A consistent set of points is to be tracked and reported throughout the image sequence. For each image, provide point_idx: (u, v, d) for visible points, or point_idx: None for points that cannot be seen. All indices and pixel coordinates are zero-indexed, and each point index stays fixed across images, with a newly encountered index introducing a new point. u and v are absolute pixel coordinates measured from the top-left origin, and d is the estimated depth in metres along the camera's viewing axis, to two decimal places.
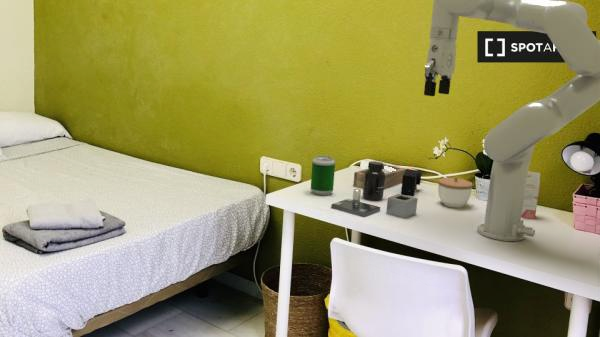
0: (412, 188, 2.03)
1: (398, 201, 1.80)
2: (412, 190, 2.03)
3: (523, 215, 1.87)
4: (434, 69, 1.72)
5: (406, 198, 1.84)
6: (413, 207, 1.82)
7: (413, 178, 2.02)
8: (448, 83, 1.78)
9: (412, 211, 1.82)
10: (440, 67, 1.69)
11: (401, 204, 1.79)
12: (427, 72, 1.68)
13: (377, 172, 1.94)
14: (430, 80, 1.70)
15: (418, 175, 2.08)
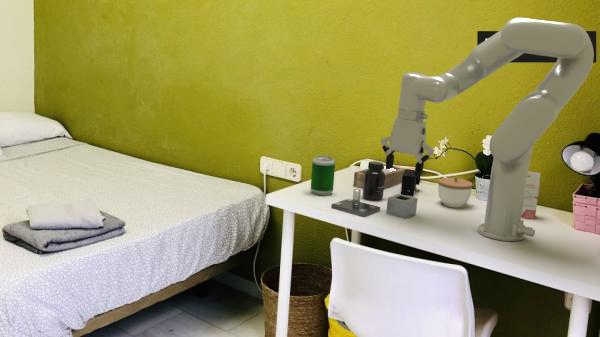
0: (412, 188, 2.03)
1: (398, 201, 1.80)
2: (412, 190, 2.03)
3: (523, 215, 1.87)
4: None
5: (406, 198, 1.84)
6: (413, 207, 1.82)
7: (413, 178, 2.02)
8: (393, 157, 1.84)
9: (412, 211, 1.82)
10: None
11: (401, 204, 1.79)
12: (430, 155, 1.75)
13: (377, 172, 1.94)
14: (424, 161, 1.77)
15: None
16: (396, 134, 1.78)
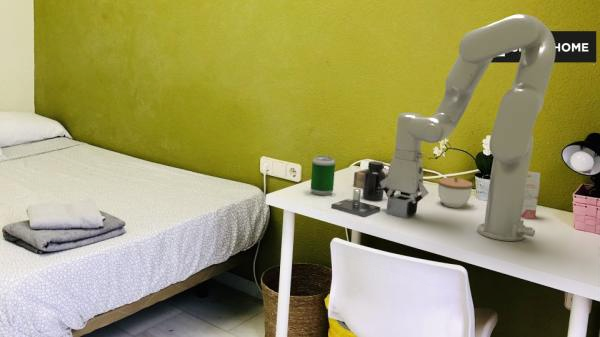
0: None
1: (398, 201, 1.80)
2: None
3: (523, 215, 1.87)
4: None
5: (406, 198, 1.84)
6: None
7: None
8: None
9: None
10: None
11: (401, 204, 1.79)
12: (424, 196, 1.78)
13: (377, 172, 1.94)
14: (418, 201, 1.80)
15: None
16: (393, 173, 1.80)
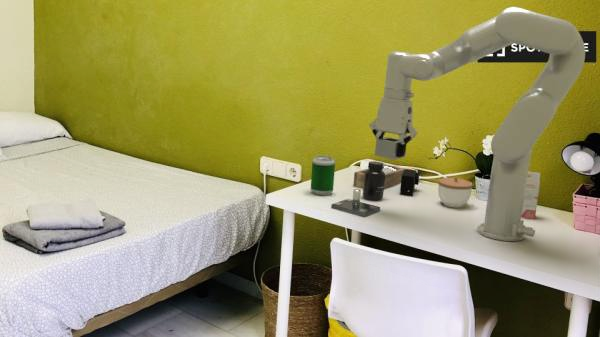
0: (411, 188, 2.03)
1: (387, 142, 1.76)
2: (411, 190, 2.03)
3: (523, 215, 1.87)
4: None
5: (395, 140, 1.80)
6: None
7: (412, 178, 2.02)
8: None
9: None
10: None
11: (390, 145, 1.76)
12: (413, 137, 1.74)
13: (377, 172, 1.94)
14: None
15: (416, 175, 2.08)
16: (382, 114, 1.77)
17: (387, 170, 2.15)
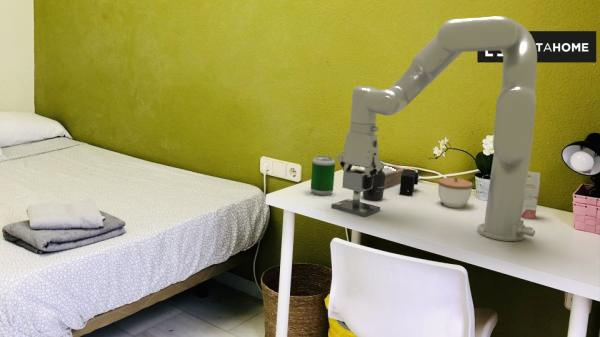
0: (410, 188, 2.03)
1: (353, 175, 1.80)
2: (410, 190, 2.03)
3: (523, 215, 1.87)
4: None
5: (362, 172, 1.84)
6: None
7: (411, 178, 2.02)
8: None
9: None
10: None
11: (356, 178, 1.79)
12: (379, 169, 1.78)
13: (377, 172, 1.94)
14: (373, 175, 1.80)
15: (416, 175, 2.08)
16: (349, 147, 1.80)
17: (386, 170, 2.16)
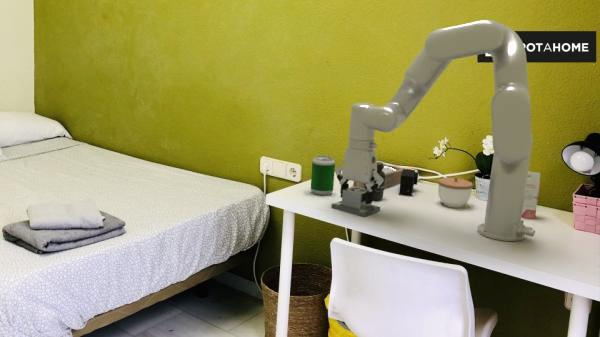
0: (410, 188, 2.03)
1: (352, 193, 1.81)
2: (410, 190, 2.03)
3: (523, 215, 1.87)
4: None
5: (361, 190, 1.85)
6: None
7: (411, 178, 2.02)
8: (348, 186, 1.87)
9: None
10: None
11: (355, 196, 1.81)
12: (380, 184, 1.78)
13: (377, 172, 1.94)
14: (374, 190, 1.80)
15: (415, 175, 2.08)
16: (348, 163, 1.82)
17: (386, 170, 2.16)
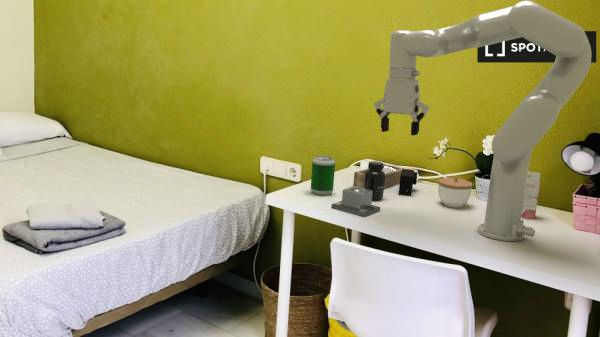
0: (410, 188, 2.03)
1: (352, 193, 1.81)
2: (410, 190, 2.03)
3: (523, 215, 1.87)
4: None
5: (361, 190, 1.85)
6: (368, 199, 1.83)
7: (411, 178, 2.02)
8: (388, 120, 1.80)
9: (367, 203, 1.83)
10: None
11: (355, 196, 1.81)
12: (426, 112, 1.71)
13: (377, 172, 1.94)
14: (420, 119, 1.73)
15: (415, 175, 2.08)
16: (389, 95, 1.74)
17: (386, 170, 2.16)
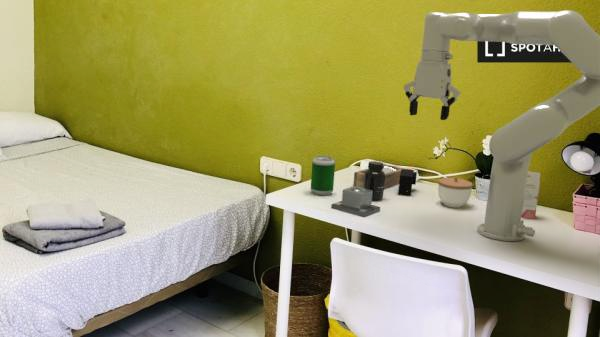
0: (409, 188, 2.03)
1: (352, 193, 1.81)
2: (409, 190, 2.03)
3: (523, 215, 1.87)
4: None
5: (361, 190, 1.85)
6: (368, 199, 1.83)
7: (410, 178, 2.02)
8: (417, 103, 1.77)
9: (367, 203, 1.83)
10: None
11: (355, 196, 1.81)
12: (457, 97, 1.68)
13: (377, 172, 1.94)
14: (450, 104, 1.70)
15: (414, 175, 2.08)
16: (420, 77, 1.72)
17: (386, 170, 2.16)
